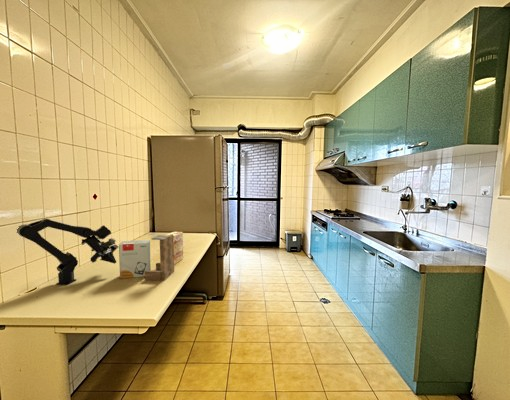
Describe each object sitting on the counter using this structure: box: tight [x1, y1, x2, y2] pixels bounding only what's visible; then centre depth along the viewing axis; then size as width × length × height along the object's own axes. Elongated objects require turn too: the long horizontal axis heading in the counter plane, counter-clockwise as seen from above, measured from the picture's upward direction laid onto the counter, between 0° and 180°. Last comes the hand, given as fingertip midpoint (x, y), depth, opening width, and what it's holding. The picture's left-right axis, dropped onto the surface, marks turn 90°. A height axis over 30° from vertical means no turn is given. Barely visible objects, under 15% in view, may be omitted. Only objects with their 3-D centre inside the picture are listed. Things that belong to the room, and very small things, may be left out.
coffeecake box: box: [166, 231, 184, 265], centre depth 165 cm, size 15×7×20 cm, turn 168°
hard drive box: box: [118, 239, 152, 279], centre depth 141 cm, size 16×8×20 cm, turn 105°
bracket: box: [144, 234, 175, 282], centre depth 140 cm, size 14×11×23 cm
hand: (115, 262), depth 142 cm, fingers closed
